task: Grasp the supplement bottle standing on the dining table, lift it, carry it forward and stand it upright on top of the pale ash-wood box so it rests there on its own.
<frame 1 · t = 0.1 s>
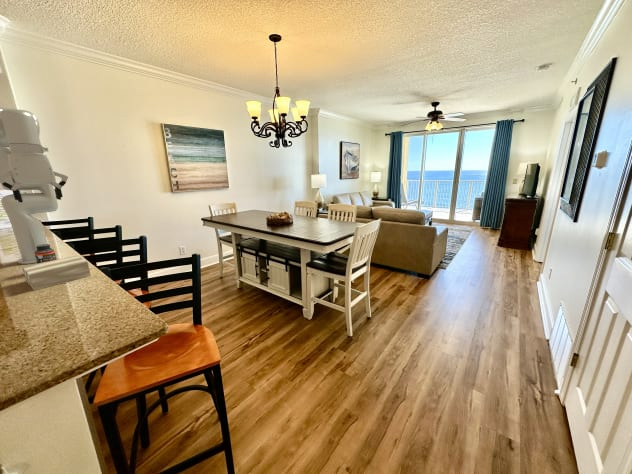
hand: (40, 200, 92), 31 cm above the breakfast bar, tool pointing down, fingers open, 9 cm apart
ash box: (59, 278, 102), on the breakfast bar
supplement bottle: (49, 270, 111), on the breakfast bar
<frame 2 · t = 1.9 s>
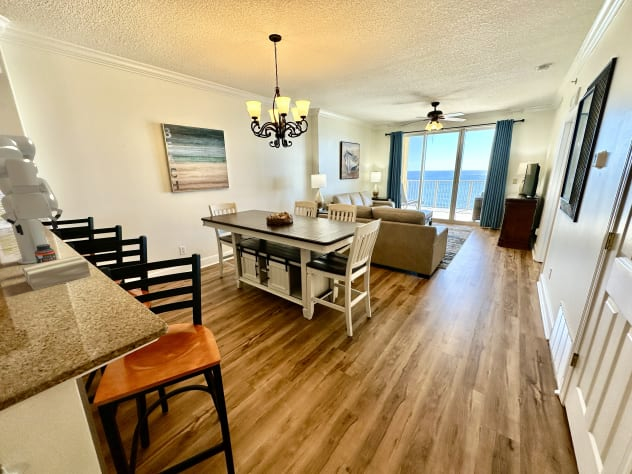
hand: (39, 232, 107), 17 cm above the breakfast bar, tool pointing down, fingers open, 9 cm apart
nothing on the breakfast bar moved.
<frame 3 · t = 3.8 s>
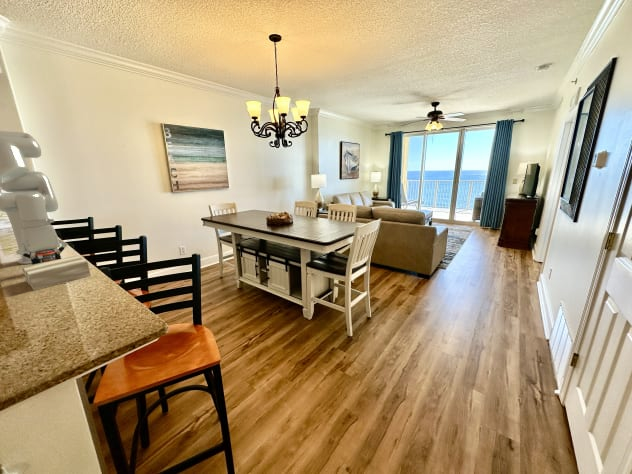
hand: (48, 264, 110), 3 cm above the breakfast bar, tool pointing down, fingers closed on supplement bottle, 6 cm apart
supplement bottle: (49, 270, 111), on the breakfast bar, touching gripper
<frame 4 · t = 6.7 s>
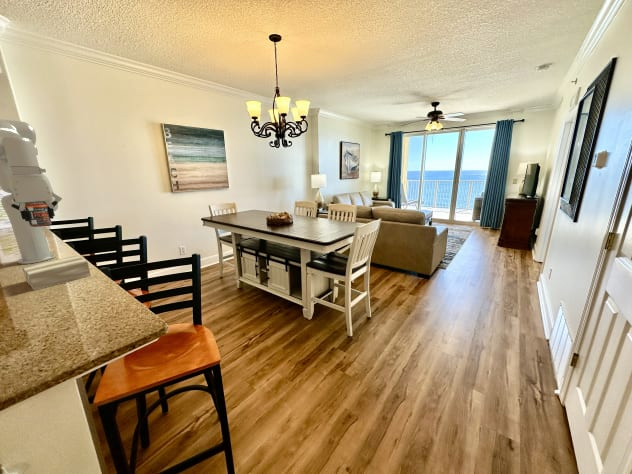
hand: (39, 219, 100), 23 cm above the breakfast bar, tool pointing down, fingers closed on supplement bottle, 6 cm apart
supplement bottle: (41, 226, 101), point 20 cm above the breakfast bar, touching gripper
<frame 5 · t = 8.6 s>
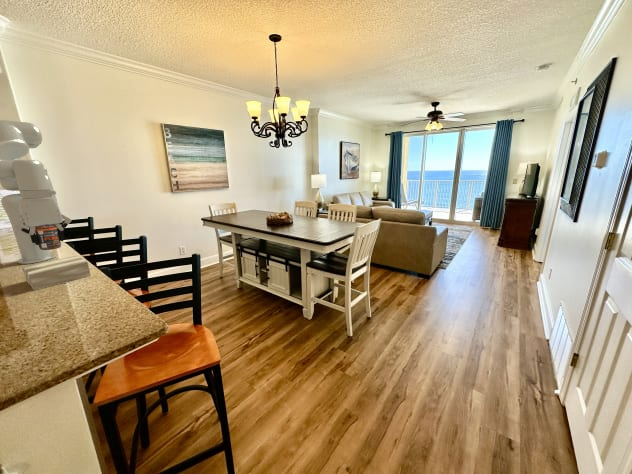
hand: (49, 242, 98), 15 cm above the breakfast bar, tool pointing down, fingers closed on supplement bottle, 6 cm apart
supplement bottle: (51, 249, 99), point 12 cm above the breakfast bar, touching gripper
when the fingers open (10 cm above the breakfast bar, at t = 10.1 s): supplement bottle moves 1 cm, resting on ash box.
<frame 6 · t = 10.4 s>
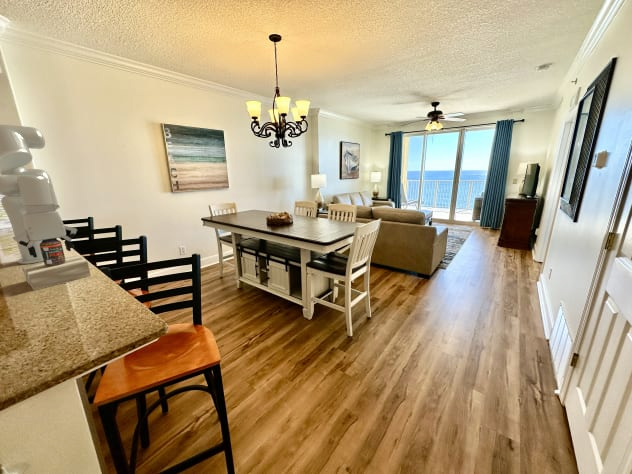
hand: (52, 253, 100), 10 cm above the breakfast bar, tool pointing down, fingers open, 9 cm apart
supplement bottle: (56, 264, 101), point 6 cm above the breakfast bar, touching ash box
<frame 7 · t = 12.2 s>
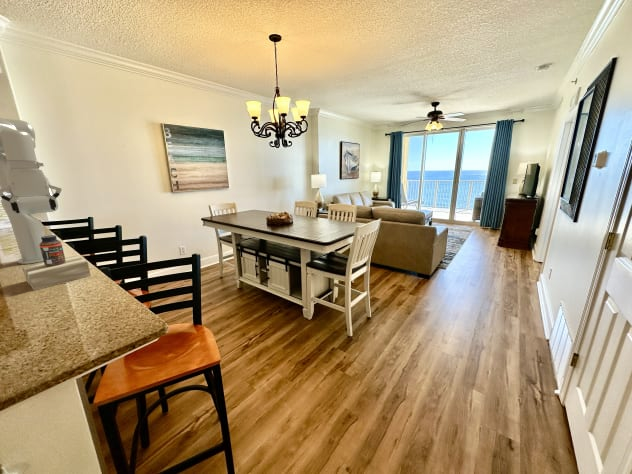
hand: (36, 211, 101), 26 cm above the breakfast bar, tool pointing down, fingers open, 9 cm apart
nothing on the breakfast bar moved.
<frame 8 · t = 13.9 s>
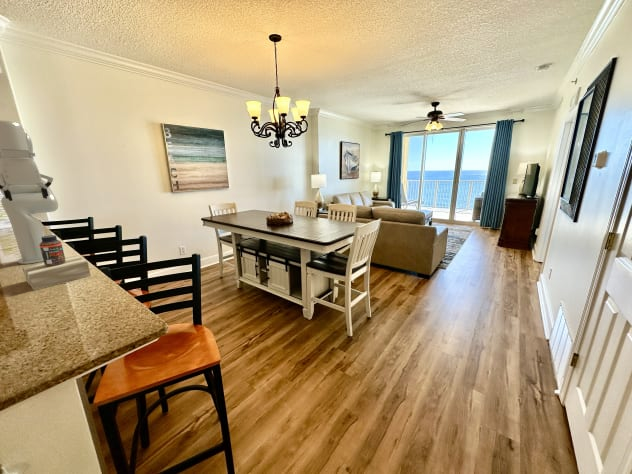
hand: (28, 199, 105), 30 cm above the breakfast bar, tool pointing down, fingers open, 9 cm apart
nothing on the breakfast bar moved.
at the end: supplement bottle inside the target area on the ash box (0.3 cm from its centre), point 5.8 cm above the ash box's base; supplement bottle tilted 0°; the gripper is holding nothing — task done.
